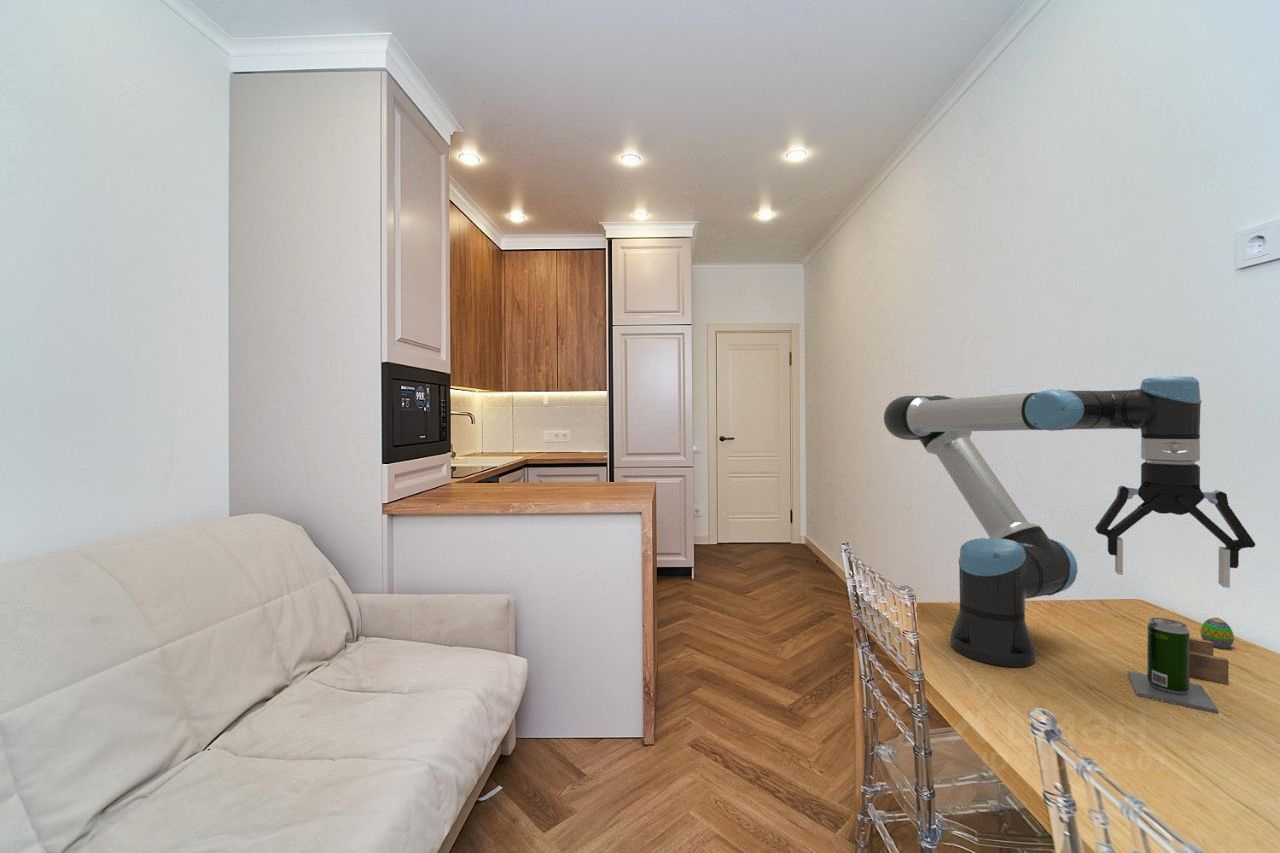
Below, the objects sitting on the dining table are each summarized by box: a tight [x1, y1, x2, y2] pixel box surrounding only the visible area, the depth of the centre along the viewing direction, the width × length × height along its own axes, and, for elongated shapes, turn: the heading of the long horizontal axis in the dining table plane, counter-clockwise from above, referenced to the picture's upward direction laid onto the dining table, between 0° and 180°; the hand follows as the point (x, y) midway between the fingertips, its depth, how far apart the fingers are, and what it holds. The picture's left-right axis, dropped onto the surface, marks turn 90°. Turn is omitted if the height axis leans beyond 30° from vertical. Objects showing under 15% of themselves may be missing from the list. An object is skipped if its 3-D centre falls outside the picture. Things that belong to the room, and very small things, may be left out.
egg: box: [1200, 617, 1235, 649], centre depth 115 cm, size 5×5×6 cm
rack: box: [1189, 637, 1230, 685], centre depth 105 cm, size 9×10×4 cm
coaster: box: [1127, 670, 1219, 714], centre depth 95 cm, size 10×10×1 cm
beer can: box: [1147, 617, 1190, 695], centre depth 96 cm, size 5×5×12 cm
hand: (1169, 579), depth 95 cm, fingers open, 13 cm apart
